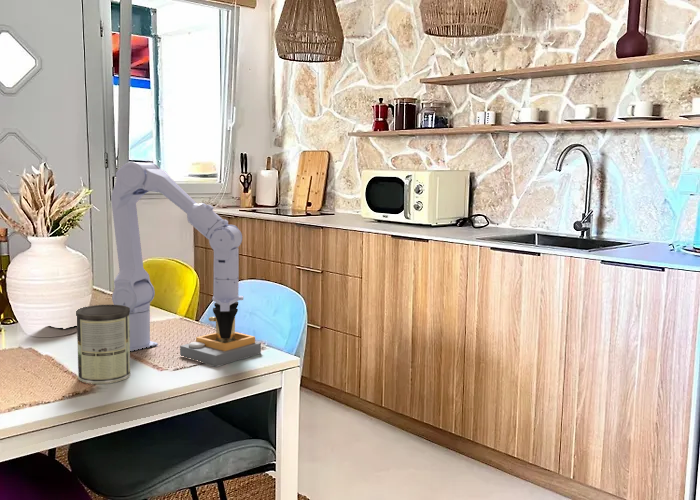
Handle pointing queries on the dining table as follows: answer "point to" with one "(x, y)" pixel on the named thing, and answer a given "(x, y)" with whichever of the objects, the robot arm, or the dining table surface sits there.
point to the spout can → (218, 338)
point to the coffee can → (103, 343)
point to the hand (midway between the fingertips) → (225, 335)
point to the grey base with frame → (221, 349)
